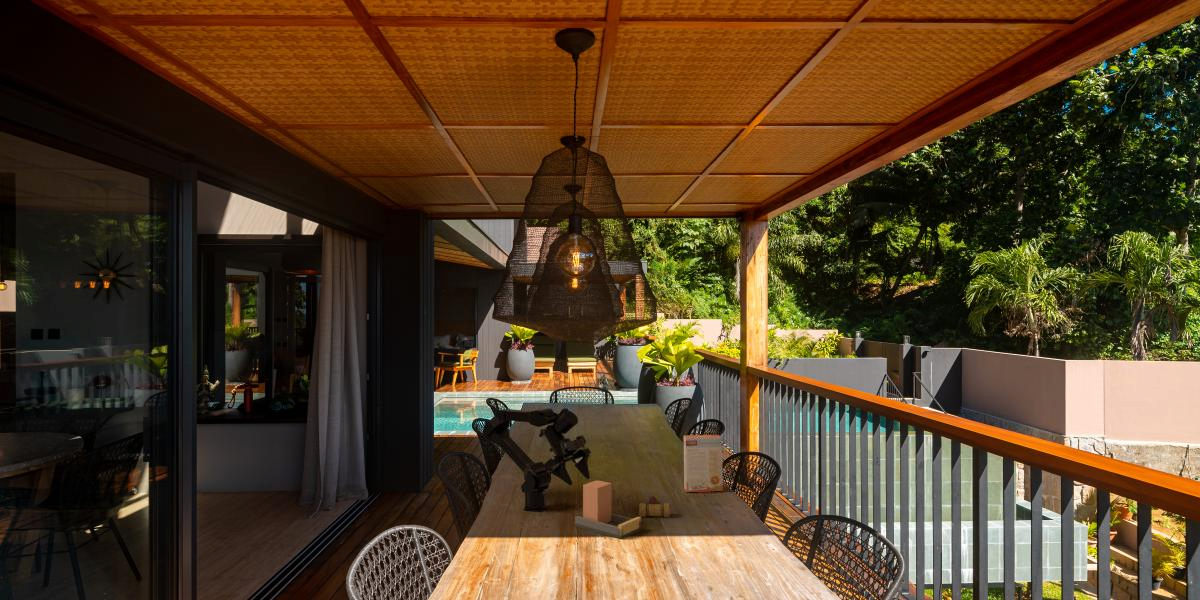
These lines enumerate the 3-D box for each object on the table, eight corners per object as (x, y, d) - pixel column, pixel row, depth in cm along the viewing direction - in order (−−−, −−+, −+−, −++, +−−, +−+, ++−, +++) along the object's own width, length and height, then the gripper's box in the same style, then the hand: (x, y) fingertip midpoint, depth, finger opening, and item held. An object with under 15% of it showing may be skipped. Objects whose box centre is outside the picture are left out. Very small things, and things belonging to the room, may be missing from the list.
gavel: (638, 491, 236) (666, 491, 235) (638, 504, 235) (666, 504, 235) (639, 504, 215) (669, 505, 214) (639, 518, 214) (669, 519, 214)
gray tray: (575, 526, 206) (575, 513, 206) (595, 518, 214) (595, 506, 214) (621, 539, 195) (621, 525, 195) (640, 530, 203) (640, 517, 203)
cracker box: (719, 488, 250) (719, 434, 250) (722, 492, 244) (722, 437, 244) (683, 488, 250) (683, 434, 250) (685, 493, 244) (685, 437, 244)
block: (583, 522, 206) (583, 484, 206) (597, 517, 212) (597, 480, 212) (597, 526, 203) (597, 488, 203) (611, 520, 208) (611, 483, 208)
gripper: (553, 432, 208) (577, 474, 202) (588, 424, 223) (612, 463, 217) (533, 451, 213) (556, 492, 207) (569, 441, 228) (591, 480, 222)
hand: (580, 481), depth 213 cm, fingers open, 9 cm apart
